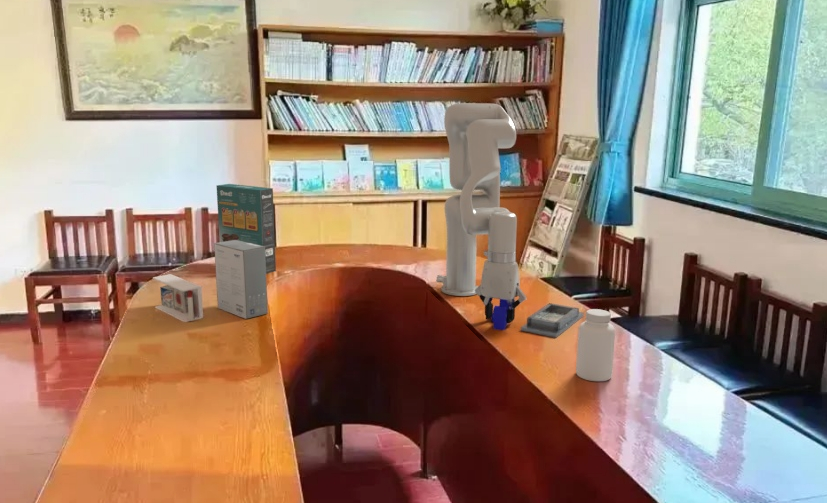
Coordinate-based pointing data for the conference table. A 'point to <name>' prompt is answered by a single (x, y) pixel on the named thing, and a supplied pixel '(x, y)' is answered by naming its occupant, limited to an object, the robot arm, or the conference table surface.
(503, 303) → the cable clip
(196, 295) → the cigarette display
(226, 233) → the cake mix box
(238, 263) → the hard drive box
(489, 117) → the robot arm
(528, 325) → the grey rectangular tray
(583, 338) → the pill bottle
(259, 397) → the conference table surface
